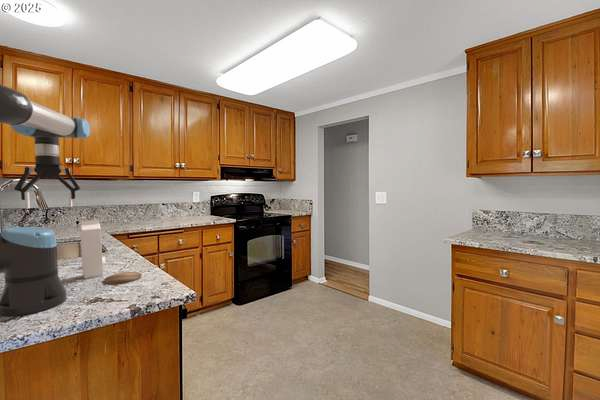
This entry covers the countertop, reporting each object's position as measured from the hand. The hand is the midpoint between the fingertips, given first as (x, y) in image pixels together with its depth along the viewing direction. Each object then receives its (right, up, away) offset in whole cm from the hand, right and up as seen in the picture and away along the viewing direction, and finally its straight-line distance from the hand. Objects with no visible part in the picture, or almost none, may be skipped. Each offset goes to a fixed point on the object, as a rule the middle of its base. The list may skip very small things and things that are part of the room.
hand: (49, 207), depth 118 cm
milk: (+20, -27, -3) cm, 34 cm away
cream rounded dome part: (+12, -26, +10) cm, 30 cm away
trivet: (+35, -27, -8) cm, 45 cm away
